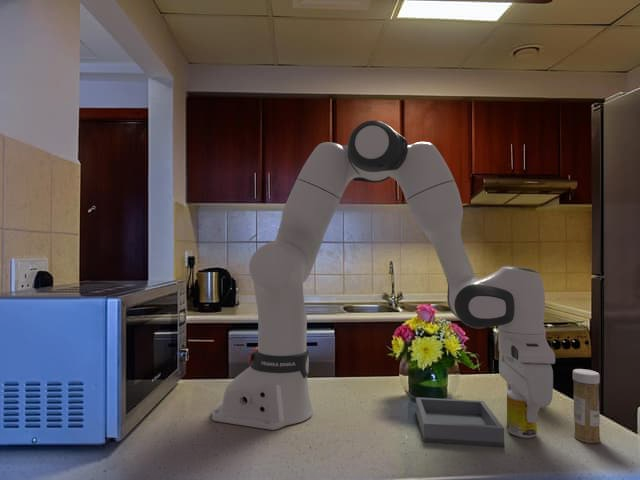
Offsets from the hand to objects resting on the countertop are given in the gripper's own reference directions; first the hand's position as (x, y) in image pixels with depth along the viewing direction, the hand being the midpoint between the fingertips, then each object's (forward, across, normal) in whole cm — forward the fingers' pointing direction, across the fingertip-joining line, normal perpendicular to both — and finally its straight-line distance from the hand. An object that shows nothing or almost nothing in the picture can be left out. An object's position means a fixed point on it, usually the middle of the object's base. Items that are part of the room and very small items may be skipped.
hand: (522, 412), depth 86 cm
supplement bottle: (+4, 0, 0) cm, 5 cm away
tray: (+4, 0, -13) cm, 14 cm away
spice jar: (+4, +1, +12) cm, 13 cm away
